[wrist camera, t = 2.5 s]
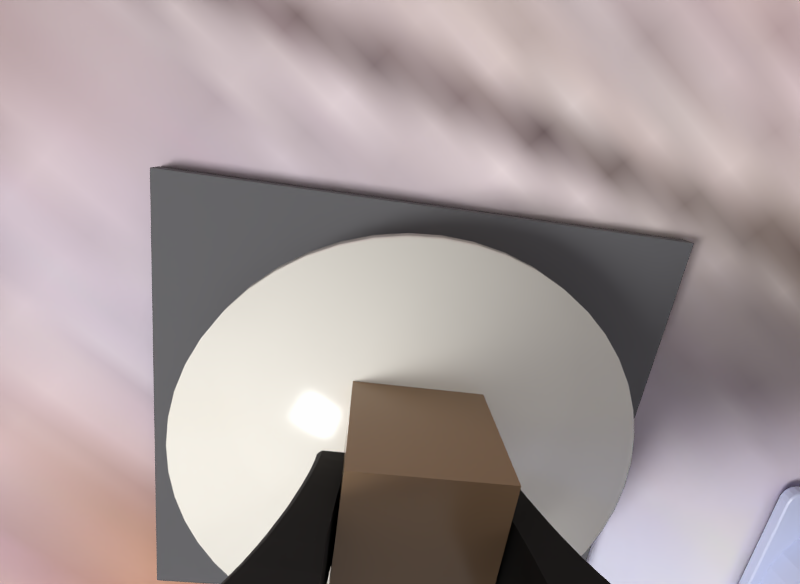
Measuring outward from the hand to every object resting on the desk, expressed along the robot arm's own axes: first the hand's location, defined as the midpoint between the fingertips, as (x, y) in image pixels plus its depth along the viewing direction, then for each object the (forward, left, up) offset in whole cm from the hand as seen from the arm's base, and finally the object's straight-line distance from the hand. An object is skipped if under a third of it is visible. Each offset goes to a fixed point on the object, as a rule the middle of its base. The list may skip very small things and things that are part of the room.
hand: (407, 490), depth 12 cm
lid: (0, 0, -2) cm, 2 cm away
